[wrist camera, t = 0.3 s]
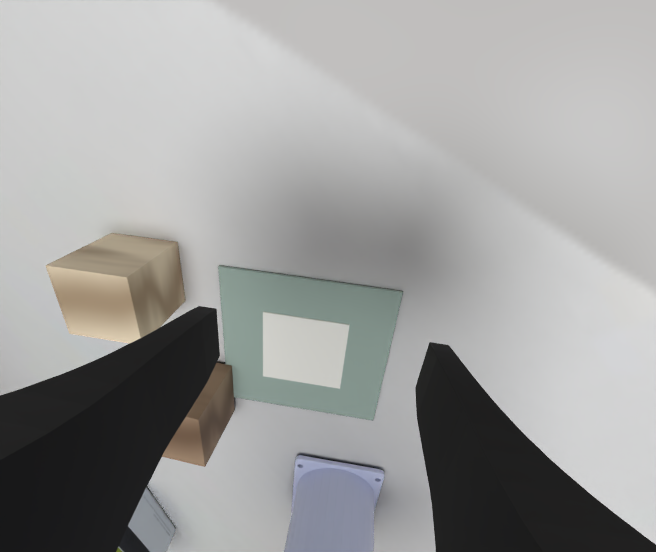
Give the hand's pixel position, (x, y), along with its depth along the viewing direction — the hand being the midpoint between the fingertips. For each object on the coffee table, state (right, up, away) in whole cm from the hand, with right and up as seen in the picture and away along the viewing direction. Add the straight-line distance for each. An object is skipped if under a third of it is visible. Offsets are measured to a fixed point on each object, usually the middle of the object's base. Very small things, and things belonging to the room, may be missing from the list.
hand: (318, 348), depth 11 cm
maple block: (-12, +3, +11) cm, 17 cm away
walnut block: (-10, -6, +16) cm, 20 cm away
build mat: (-1, -3, +13) cm, 13 cm away
